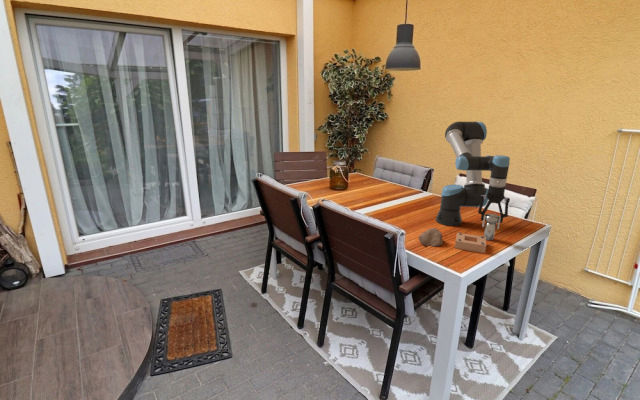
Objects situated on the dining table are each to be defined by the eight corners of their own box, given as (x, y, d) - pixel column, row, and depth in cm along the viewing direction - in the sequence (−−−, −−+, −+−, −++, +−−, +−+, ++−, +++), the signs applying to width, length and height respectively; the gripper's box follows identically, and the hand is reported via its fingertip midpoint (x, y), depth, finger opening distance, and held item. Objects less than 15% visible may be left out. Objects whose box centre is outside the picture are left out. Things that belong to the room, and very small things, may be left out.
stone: (441, 245, 179) (436, 227, 181) (449, 243, 170) (443, 224, 172) (420, 250, 178) (415, 232, 180) (427, 248, 169) (421, 229, 171)
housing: (454, 249, 169) (455, 239, 167) (455, 241, 179) (457, 231, 178) (484, 255, 163) (486, 244, 162) (484, 245, 174) (485, 235, 172)
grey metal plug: (482, 239, 178) (485, 216, 174) (482, 235, 183) (485, 213, 180) (495, 241, 175) (499, 218, 171) (494, 237, 181) (498, 214, 177)
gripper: (476, 185, 171) (470, 226, 178) (519, 189, 164) (511, 232, 170) (476, 182, 178) (470, 222, 185) (517, 186, 170) (510, 227, 177)
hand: (490, 227), depth 177 cm, fingers open, 6 cm apart
